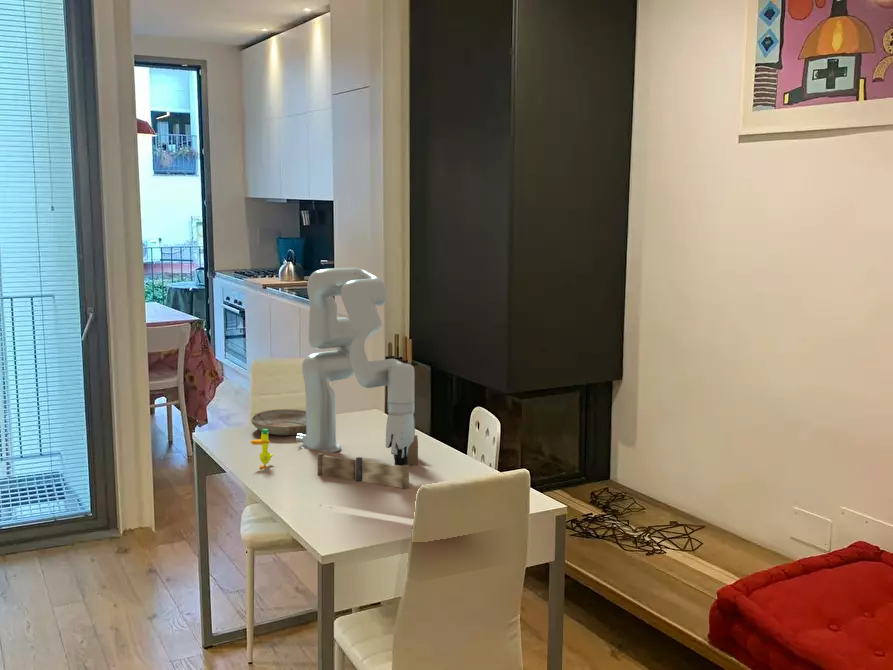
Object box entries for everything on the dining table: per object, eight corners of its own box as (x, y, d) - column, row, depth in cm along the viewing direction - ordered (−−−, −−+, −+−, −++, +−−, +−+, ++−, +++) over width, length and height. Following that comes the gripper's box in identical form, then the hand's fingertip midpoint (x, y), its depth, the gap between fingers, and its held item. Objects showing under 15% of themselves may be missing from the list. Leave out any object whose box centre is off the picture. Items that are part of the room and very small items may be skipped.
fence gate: (361, 482, 247) (361, 460, 246) (364, 480, 249) (364, 458, 248) (407, 489, 242) (407, 467, 241) (409, 487, 244) (410, 465, 243)
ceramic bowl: (259, 443, 287) (259, 428, 286) (245, 425, 309) (245, 411, 308) (327, 436, 296) (327, 422, 296) (309, 419, 318) (309, 406, 317)
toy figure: (250, 470, 260) (250, 431, 258) (251, 466, 263) (250, 427, 261) (274, 469, 261) (273, 430, 259) (274, 465, 264) (273, 427, 262)
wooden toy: (418, 469, 263) (420, 388, 259) (396, 470, 263) (397, 388, 258) (413, 454, 279) (415, 377, 274) (392, 454, 278) (393, 377, 274)
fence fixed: (316, 475, 253) (316, 453, 252) (319, 473, 254) (319, 451, 253) (360, 482, 247) (360, 459, 246) (363, 480, 249) (363, 457, 248)
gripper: (400, 400, 255) (400, 461, 258) (377, 411, 241) (377, 475, 244) (423, 403, 252) (423, 464, 255) (401, 414, 239) (401, 479, 241)
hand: (400, 469), depth 250 cm, fingers closed
